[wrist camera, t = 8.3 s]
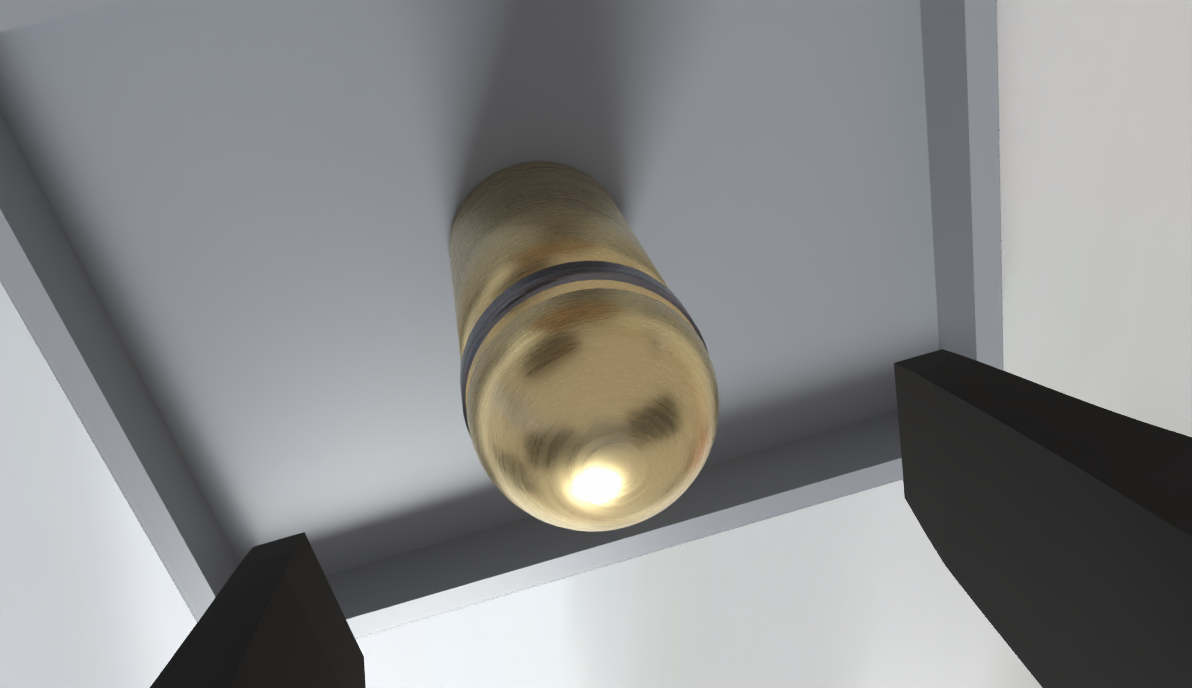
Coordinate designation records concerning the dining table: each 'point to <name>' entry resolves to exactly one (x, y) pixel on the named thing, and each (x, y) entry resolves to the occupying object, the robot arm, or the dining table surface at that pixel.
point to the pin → (574, 353)
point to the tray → (422, 263)
